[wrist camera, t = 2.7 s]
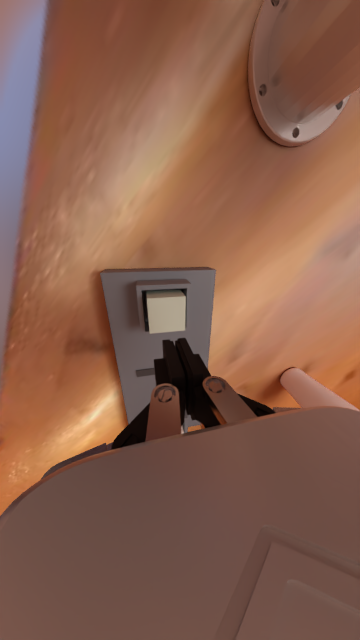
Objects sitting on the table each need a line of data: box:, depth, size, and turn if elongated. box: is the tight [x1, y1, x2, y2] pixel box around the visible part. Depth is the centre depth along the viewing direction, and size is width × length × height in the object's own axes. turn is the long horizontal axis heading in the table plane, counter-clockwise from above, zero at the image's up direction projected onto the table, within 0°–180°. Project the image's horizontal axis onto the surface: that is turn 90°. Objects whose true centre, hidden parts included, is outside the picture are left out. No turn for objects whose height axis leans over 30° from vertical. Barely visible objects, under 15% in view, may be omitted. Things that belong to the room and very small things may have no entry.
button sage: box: [146, 290, 186, 334], centre depth 19 cm, size 4×4×3 cm
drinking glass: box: [280, 368, 360, 411], centre depth 31 cm, size 7×7×15 cm
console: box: [100, 267, 216, 433], centre depth 26 cm, size 30×14×6 cm, turn 0°
